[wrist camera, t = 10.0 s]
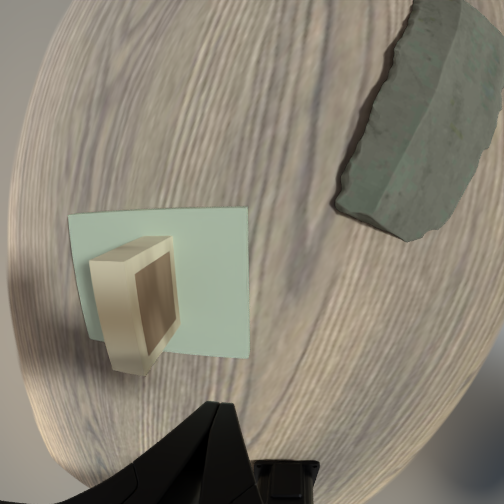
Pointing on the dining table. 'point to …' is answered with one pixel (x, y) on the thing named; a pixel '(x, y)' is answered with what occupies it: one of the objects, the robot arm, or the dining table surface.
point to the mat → (180, 270)
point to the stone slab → (427, 121)
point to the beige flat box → (136, 301)
